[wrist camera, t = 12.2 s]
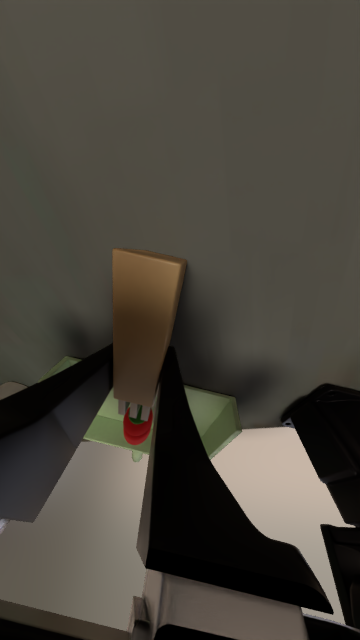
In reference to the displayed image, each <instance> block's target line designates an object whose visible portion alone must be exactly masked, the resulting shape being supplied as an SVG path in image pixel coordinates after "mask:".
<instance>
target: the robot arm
mask: <svg viewBox="0 0 360 640" xmlns="http://www.w3.org/2000/svg"><path fill="white" fill-rule="evenodd" d="M112 388H113V343H112V344H110V345H109V346H107V347H105V348H103V349H101V350H99V351H98V352H96V353H94V354H92V355H90V356H88V357H86V358H85V359H83V360H81V361H79V362H77V363H75V364H74V365H73V366H70V367H68V368H66V369H64V370H62V371H60V372H59V373H57V374H55V375H53V376H51V377H49V378H47V379H44V380H42V381H40V382H38V383H36V384H34V385H32V386H29V387H27V388H25V389H23V390H21V391H19V392H17V393H14V394H12V395H10V396H8V397H6V398H3V399H1V400H0V534H1V533H2V531H3V530H4V528H5V527H6V525H7V524H8V522H9V521H10V520H16V521H24V522H32V523H33V522H34V521H35V519H36V517H37V516H38V514H39V512H40V511H41V509H42V507H43V506H44V504H45V502H46V501H47V499H48V497H49V495H50V494H51V492H52V490H53V489H54V487H55V485H56V483H57V482H58V480H59V478H60V477H61V475H62V473H63V471H64V470H65V468H66V466H67V465H68V463H69V461H70V460H71V458H72V456H73V454H74V453H75V451H76V449H77V447H78V446H79V444H80V442H81V441H82V439H83V437H84V435H85V434H86V432H87V430H88V429H89V427H90V425H91V424H92V422H93V420H94V418H95V417H96V415H97V413H98V412H99V410H100V408H101V406H102V405H103V403H104V401H105V400H106V398H107V396H108V395H109V393H110V391H111V389H112ZM281 422H282V425H284V426H287V427H291V428H295V429H296V431H297V434H298V435H299V437H300V440H301V442H302V444H303V446H304V448H305V450H306V452H307V454H308V456H309V458H310V460H311V462H312V465H313V467H314V469H315V471H316V473H317V475H318V477H319V479H320V480H321V481H322V482H323V483H325V484H326V485H327V488H328V490H329V492H330V493H331V496H332V498H333V500H334V502H335V504H336V505H337V508H338V510H339V512H340V514H341V516H342V518H343V520H344V522H345V523H346V524H350V525H354V526H355V527H356V528H351V527H350V528H348V527H336V526H332V525H329V524H321V525H320V526H321V531H322V535H323V539H324V543H325V547H326V550H327V554H328V558H329V562H330V566H331V570H332V573H333V577H334V581H335V585H336V589H337V593H338V597H339V601H340V604H341V608H342V612H343V616H344V620H345V624H346V625H344V624H341V623H338V622H335V621H332V620H328V619H324V618H320V617H316V616H312V615H308V614H304V613H302V609H301V607H304V608H308V609H312V610H316V611H320V612H324V613H328V614H332V615H333V613H334V612H333V609H332V607H331V604H330V603H329V600H328V599H327V596H326V594H325V592H324V590H323V589H322V587H321V585H320V583H319V581H318V580H317V578H316V577H315V575H314V573H313V571H312V570H311V568H310V567H309V565H308V563H307V562H306V560H305V559H304V557H303V556H302V554H301V552H300V551H299V549H298V548H297V547H295V546H293V545H291V544H288V543H285V542H281V541H277V540H273V539H270V538H268V537H266V536H265V535H263V534H262V533H261V532H259V531H258V529H256V527H255V526H254V525H253V524H252V523H251V521H250V520H249V519H248V517H247V516H246V515H245V513H244V511H243V510H242V509H241V507H240V505H239V504H238V502H237V501H236V499H235V498H234V496H233V495H232V493H231V492H230V490H229V489H228V487H227V486H226V484H225V483H224V481H223V480H222V478H221V477H220V475H219V474H218V472H217V471H216V469H215V468H214V466H213V465H212V463H211V461H210V459H209V457H208V455H207V452H206V450H205V447H204V445H203V442H202V440H201V437H200V434H199V432H198V429H197V426H196V424H195V421H194V418H193V416H192V413H191V410H190V407H189V403H188V400H187V396H186V393H185V388H184V384H183V380H182V376H181V372H180V368H179V364H178V360H177V356H176V352H175V348H174V347H172V346H168V349H167V352H166V355H165V358H164V362H163V367H162V372H161V377H160V382H159V390H158V397H157V404H156V411H155V418H154V425H153V432H152V440H151V447H150V454H149V461H148V468H147V475H146V483H145V489H144V497H143V505H142V512H141V518H140V525H139V532H138V539H137V546H136V548H137V551H138V553H139V555H140V557H141V559H142V561H143V564H144V566H145V568H146V576H145V582H144V589H143V594H142V598H140V597H136V596H133V601H132V606H131V611H130V617H129V622H128V627H127V631H123V630H119V629H115V628H111V627H107V626H103V625H99V624H95V623H91V622H87V621H83V620H79V619H75V618H71V617H67V616H63V615H59V614H56V613H52V612H47V611H43V610H39V609H36V608H32V607H28V606H24V605H20V604H16V603H12V602H8V601H4V600H0V640H360V392H357V391H353V390H349V389H345V388H341V387H337V386H333V385H327V386H324V387H322V388H321V389H319V390H318V391H317V392H315V393H314V394H313V395H311V396H310V397H309V398H307V399H306V400H305V401H303V402H302V403H301V404H299V405H298V406H297V407H295V408H294V409H293V410H291V411H290V412H289V413H287V414H286V415H285V416H284V417H282V418H281Z"/></svg>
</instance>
